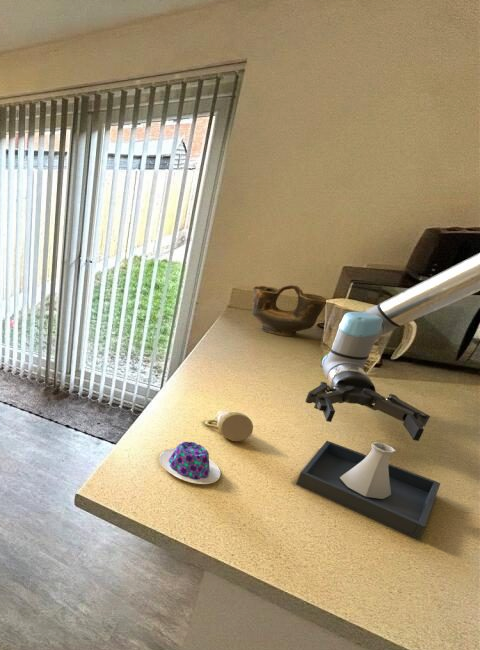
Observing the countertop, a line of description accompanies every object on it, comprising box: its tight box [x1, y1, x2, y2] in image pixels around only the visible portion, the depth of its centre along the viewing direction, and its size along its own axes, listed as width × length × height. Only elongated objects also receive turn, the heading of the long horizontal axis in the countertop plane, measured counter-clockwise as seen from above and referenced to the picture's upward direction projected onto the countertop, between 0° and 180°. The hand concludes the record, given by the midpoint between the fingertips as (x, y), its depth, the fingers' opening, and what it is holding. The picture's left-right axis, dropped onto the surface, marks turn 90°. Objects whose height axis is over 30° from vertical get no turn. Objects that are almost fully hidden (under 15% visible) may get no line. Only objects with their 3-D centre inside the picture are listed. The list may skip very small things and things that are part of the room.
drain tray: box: [295, 440, 441, 541], centre depth 79 cm, size 18×18×3 cm
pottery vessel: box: [251, 284, 329, 338], centre depth 158 cm, size 25×11×20 cm, turn 38°
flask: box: [340, 441, 397, 499], centre depth 78 cm, size 7×7×10 cm
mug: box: [204, 410, 254, 442], centre depth 98 cm, size 8×10×10 cm
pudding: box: [159, 441, 221, 485], centre depth 86 cm, size 12×12×5 cm
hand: (372, 425), depth 82 cm, fingers open, 13 cm apart
